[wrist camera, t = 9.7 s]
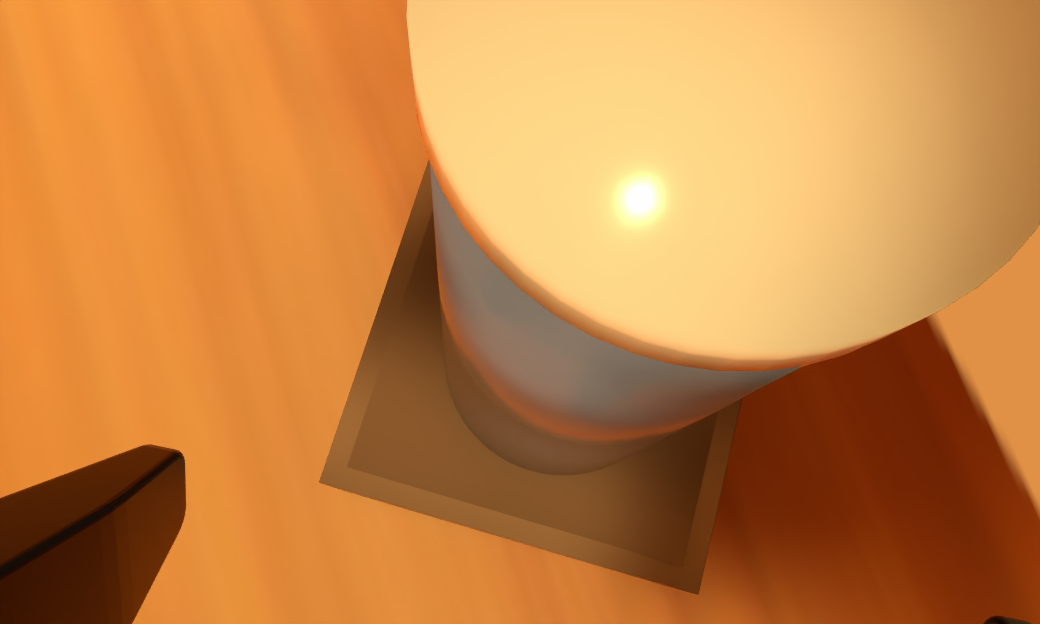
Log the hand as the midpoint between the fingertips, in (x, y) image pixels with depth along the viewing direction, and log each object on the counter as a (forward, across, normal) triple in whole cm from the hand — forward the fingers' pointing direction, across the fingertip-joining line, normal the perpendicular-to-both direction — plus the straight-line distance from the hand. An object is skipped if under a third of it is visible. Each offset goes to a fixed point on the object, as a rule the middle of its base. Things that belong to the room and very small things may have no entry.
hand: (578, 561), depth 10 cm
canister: (+11, 0, -4) cm, 11 cm away
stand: (+13, 0, -6) cm, 14 cm away
